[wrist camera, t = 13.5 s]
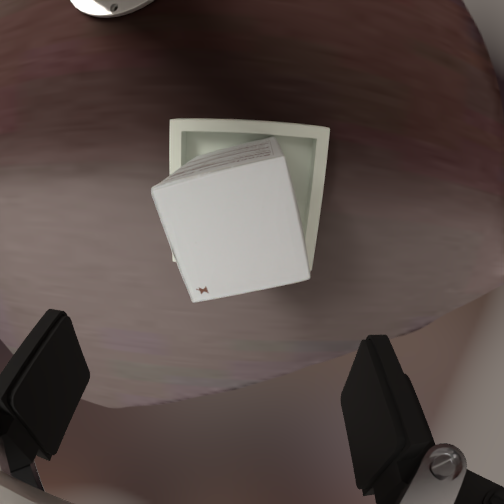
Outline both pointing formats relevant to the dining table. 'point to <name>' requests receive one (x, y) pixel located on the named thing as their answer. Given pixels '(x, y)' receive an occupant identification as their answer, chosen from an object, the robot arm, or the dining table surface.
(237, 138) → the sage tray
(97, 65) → the dining table surface
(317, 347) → the dining table surface
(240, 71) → the dining table surface
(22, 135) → the dining table surface
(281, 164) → the supplement box
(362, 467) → the robot arm
